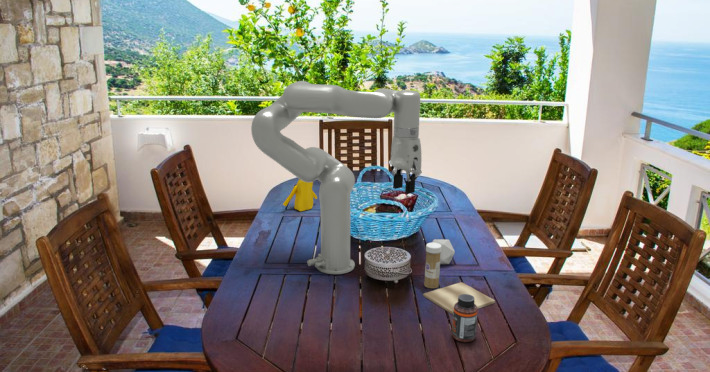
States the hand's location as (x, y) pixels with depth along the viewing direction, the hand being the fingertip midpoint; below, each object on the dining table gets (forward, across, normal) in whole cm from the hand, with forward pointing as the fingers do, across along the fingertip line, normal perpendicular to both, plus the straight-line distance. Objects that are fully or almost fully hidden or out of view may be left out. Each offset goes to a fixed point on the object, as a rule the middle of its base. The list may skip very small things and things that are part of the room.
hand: (403, 189), depth 177 cm
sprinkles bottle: (+28, -13, -2) cm, 31 cm away
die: (+28, -1, -16) cm, 32 cm away
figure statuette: (+28, +71, -2) cm, 76 cm away
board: (+27, -24, -3) cm, 37 cm away
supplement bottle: (+28, -40, +10) cm, 50 cm away
